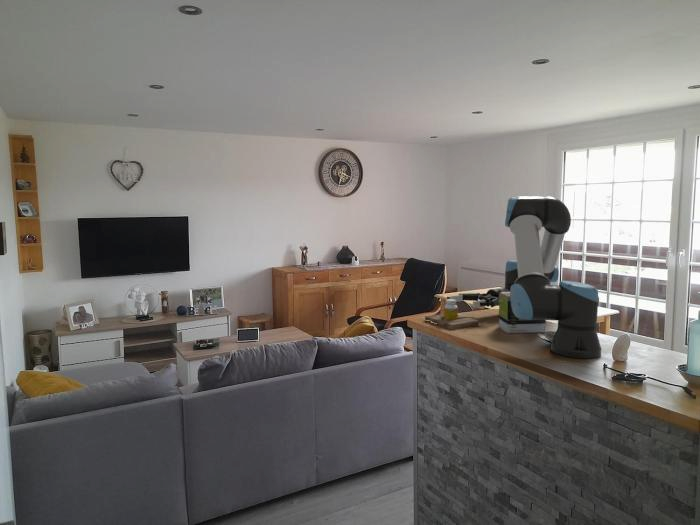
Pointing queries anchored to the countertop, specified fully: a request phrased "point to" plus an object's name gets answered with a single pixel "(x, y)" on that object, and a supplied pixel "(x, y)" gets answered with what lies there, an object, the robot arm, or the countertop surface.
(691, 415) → the countertop surface
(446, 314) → the supplement bottle
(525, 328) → the tea box
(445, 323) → the u-shaped block
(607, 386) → the countertop surface
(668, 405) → the countertop surface
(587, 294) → the robot arm
